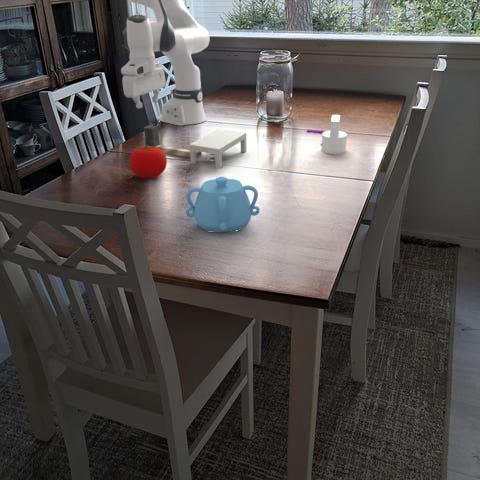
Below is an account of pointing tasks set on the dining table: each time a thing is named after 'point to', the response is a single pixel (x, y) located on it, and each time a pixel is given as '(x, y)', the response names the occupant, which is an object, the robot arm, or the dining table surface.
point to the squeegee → (315, 132)
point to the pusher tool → (153, 140)
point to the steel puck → (211, 159)
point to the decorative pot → (222, 205)
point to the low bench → (217, 144)
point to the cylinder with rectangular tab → (334, 138)
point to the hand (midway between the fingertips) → (147, 104)
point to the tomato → (148, 161)
